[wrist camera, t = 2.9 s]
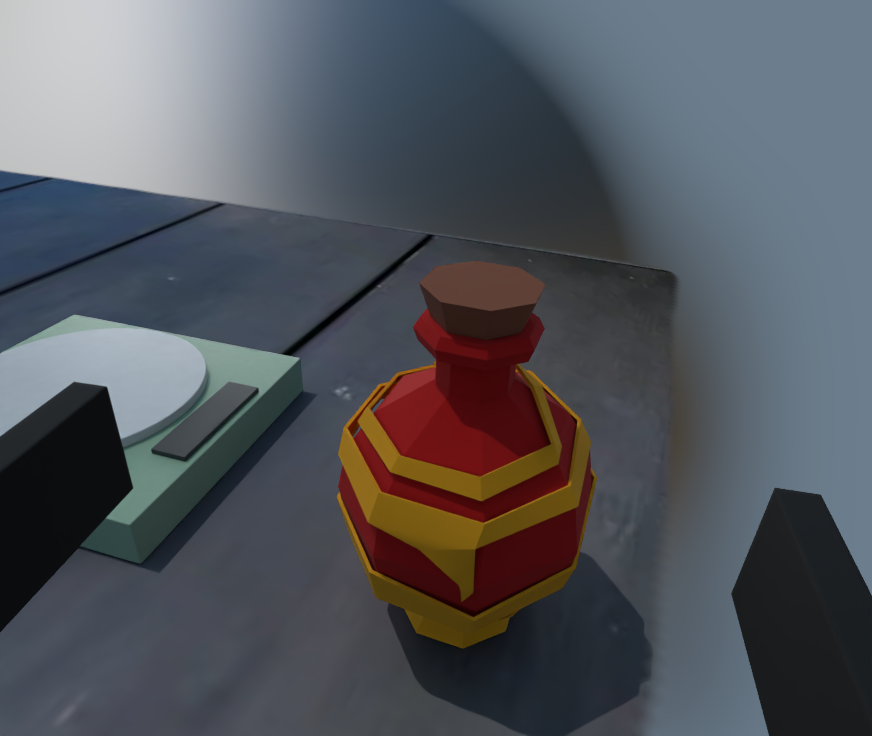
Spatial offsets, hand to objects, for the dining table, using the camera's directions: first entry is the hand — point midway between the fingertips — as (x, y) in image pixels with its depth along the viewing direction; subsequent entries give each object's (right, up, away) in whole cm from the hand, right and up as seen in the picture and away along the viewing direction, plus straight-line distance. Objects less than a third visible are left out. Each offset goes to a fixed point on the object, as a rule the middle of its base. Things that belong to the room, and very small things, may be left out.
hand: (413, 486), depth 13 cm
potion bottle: (+1, -8, +16) cm, 18 cm away
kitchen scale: (-19, -1, +25) cm, 32 cm away
